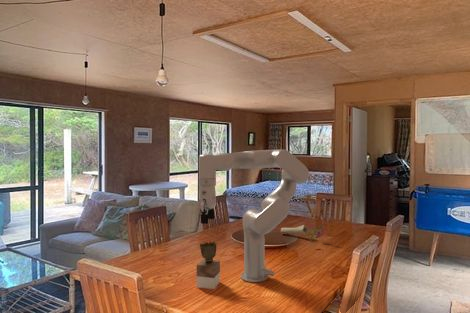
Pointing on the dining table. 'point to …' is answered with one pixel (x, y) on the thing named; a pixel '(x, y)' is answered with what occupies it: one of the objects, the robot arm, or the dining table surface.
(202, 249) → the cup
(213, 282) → the cream block
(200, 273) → the walnut block
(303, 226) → the flower vase
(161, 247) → the dining table surface
